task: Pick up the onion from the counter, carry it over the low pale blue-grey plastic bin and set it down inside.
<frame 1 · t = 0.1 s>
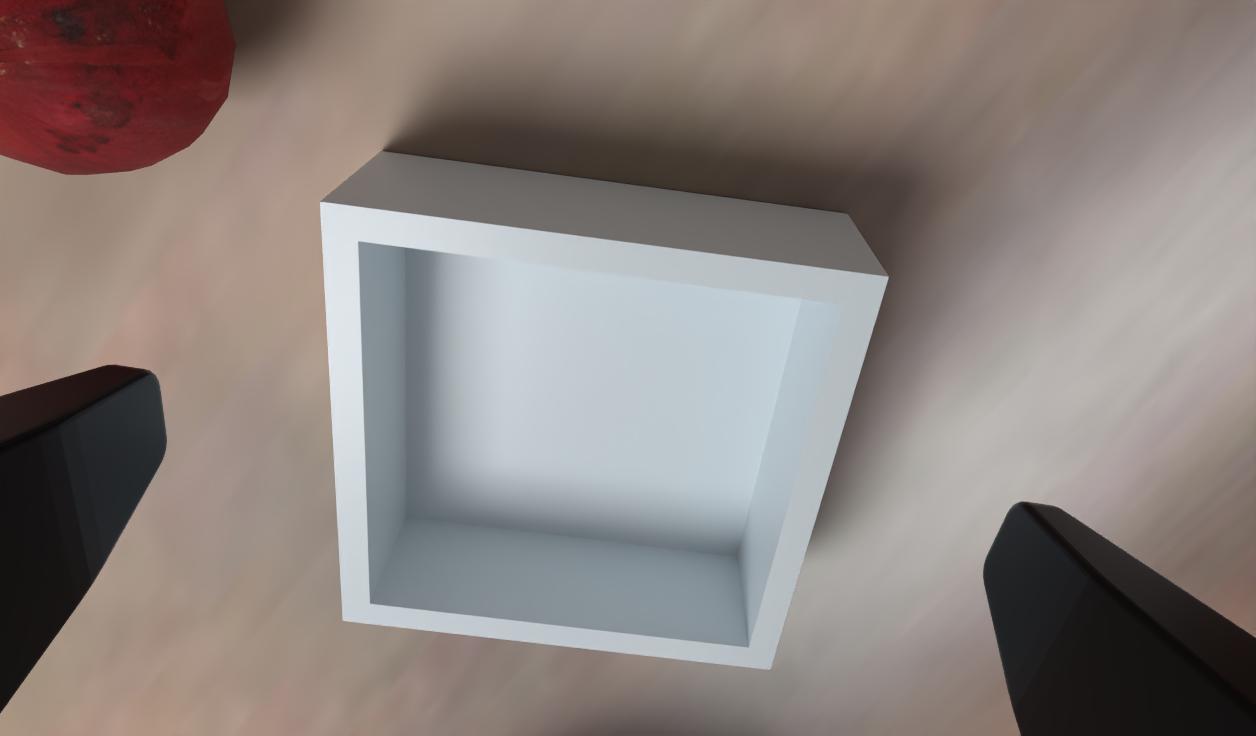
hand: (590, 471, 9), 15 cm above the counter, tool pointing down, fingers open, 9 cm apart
bin: (591, 384, 25), on the counter
onion: (173, 13, 20), on the counter
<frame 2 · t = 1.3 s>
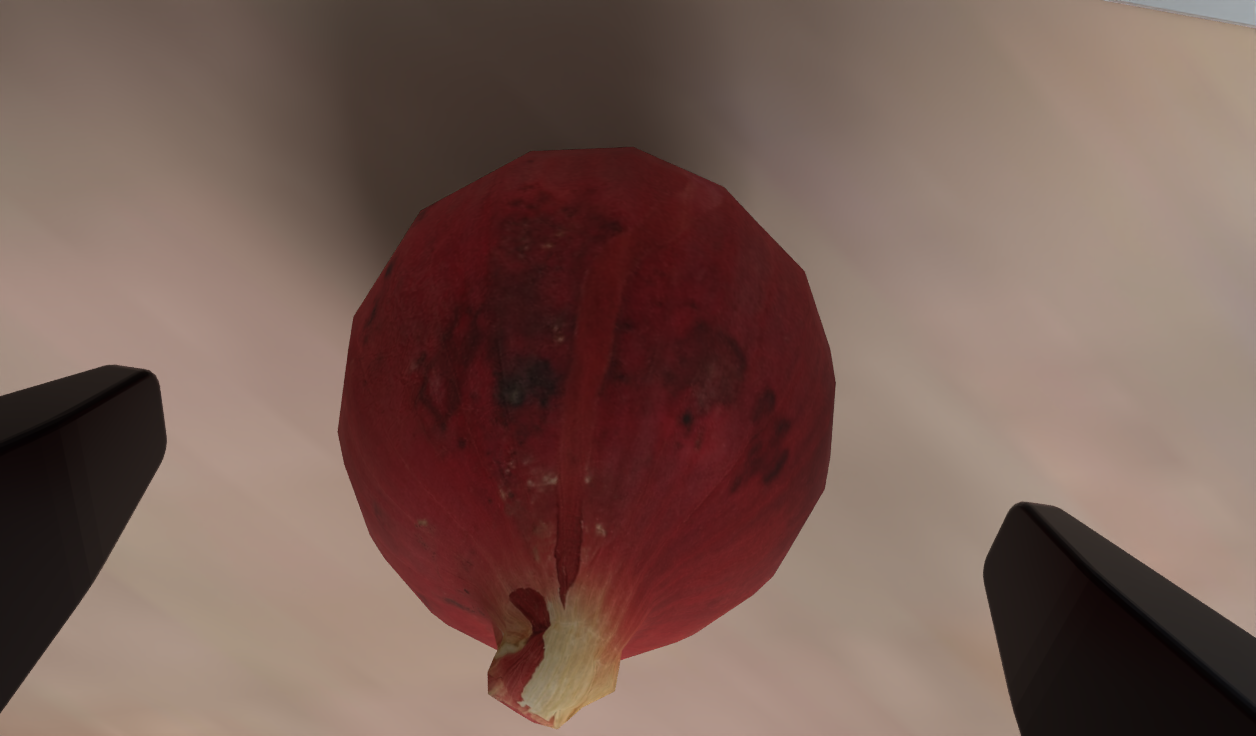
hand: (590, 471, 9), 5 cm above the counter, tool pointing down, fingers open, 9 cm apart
onion: (607, 276, 13), on the counter
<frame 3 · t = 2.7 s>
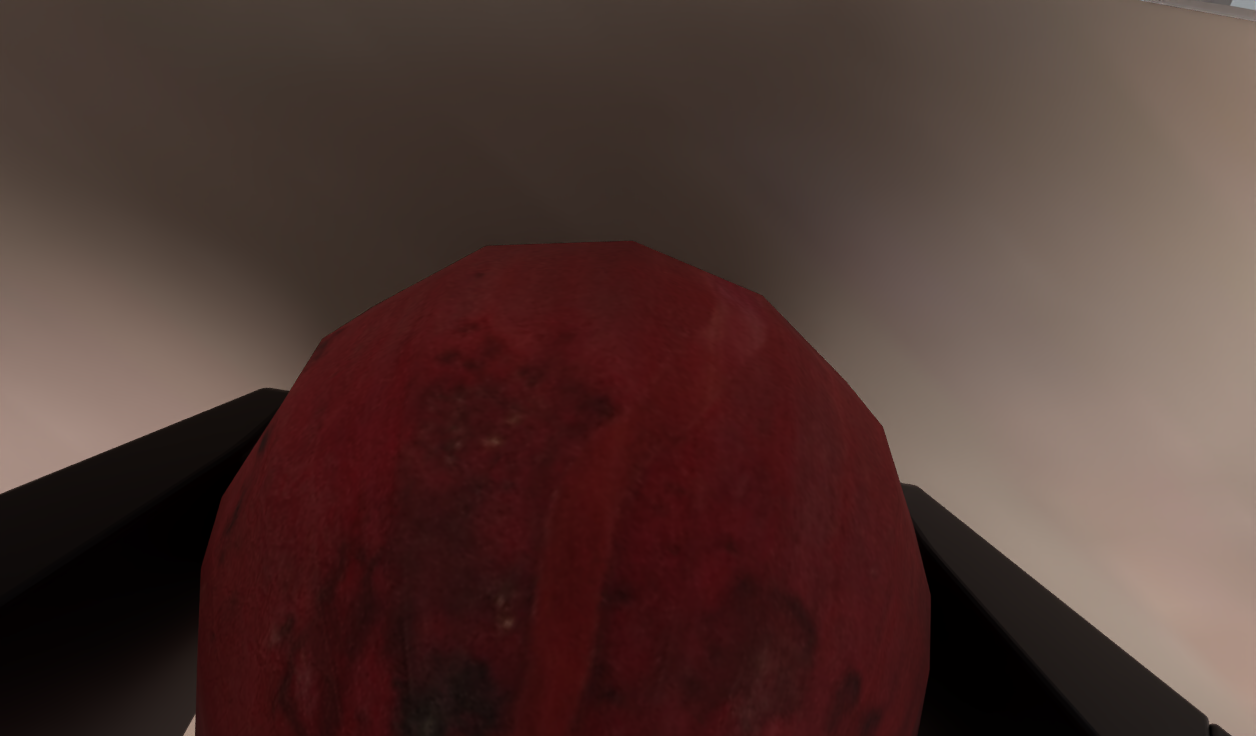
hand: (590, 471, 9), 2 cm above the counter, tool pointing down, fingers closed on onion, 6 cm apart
onion: (601, 370, 11), on the counter, touching gripper
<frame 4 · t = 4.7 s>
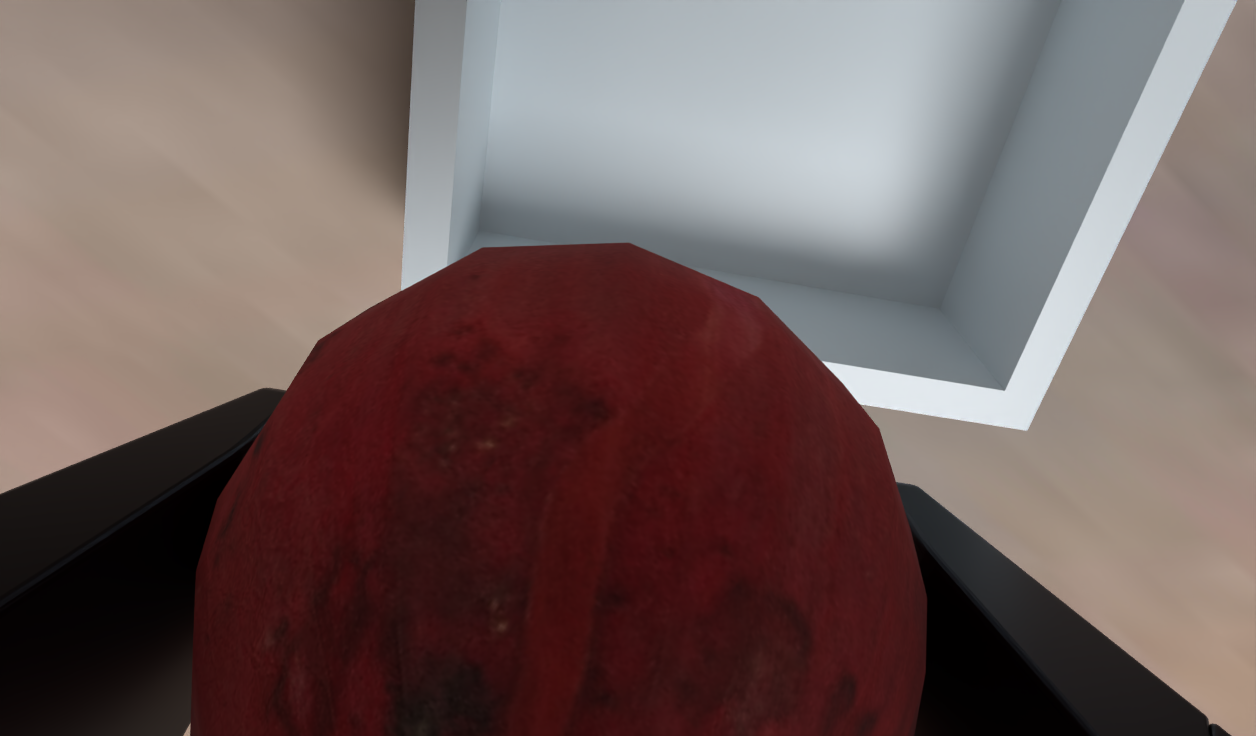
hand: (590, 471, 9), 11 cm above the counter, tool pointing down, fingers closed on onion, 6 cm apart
bin: (771, 16, 17), on the counter
onion: (598, 371, 11), point 9 cm above the counter, touching gripper
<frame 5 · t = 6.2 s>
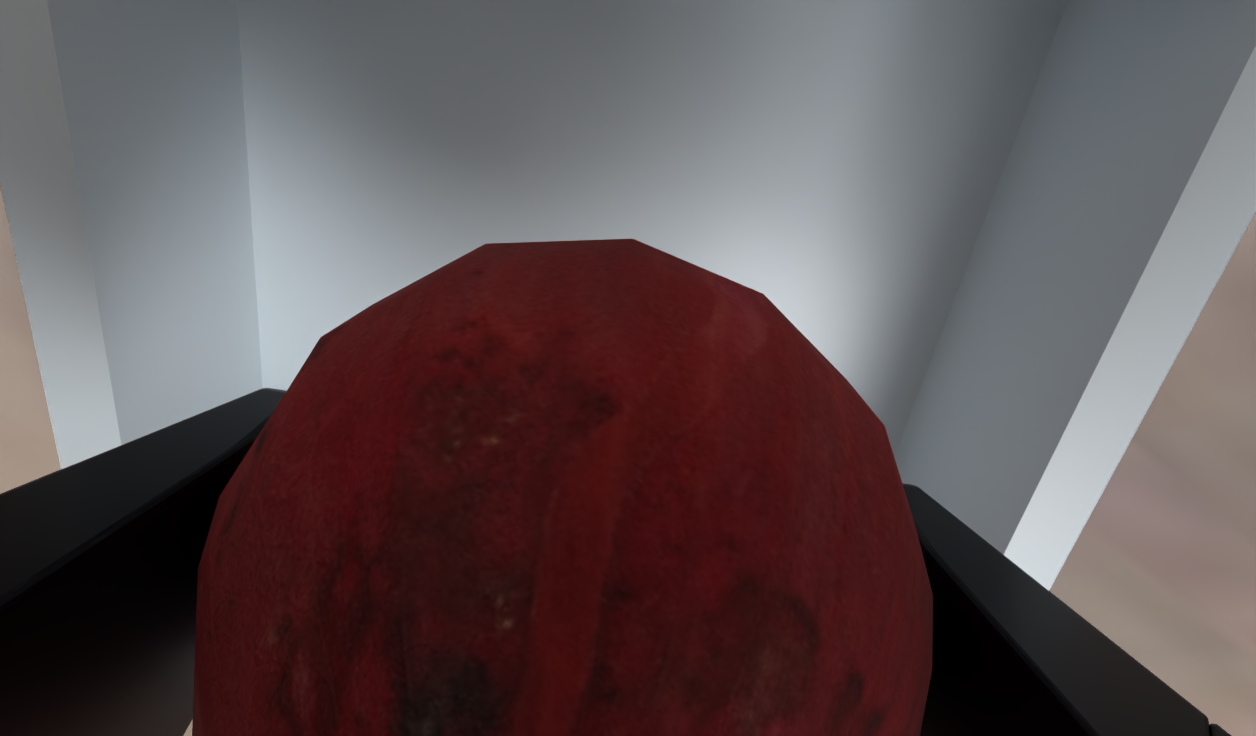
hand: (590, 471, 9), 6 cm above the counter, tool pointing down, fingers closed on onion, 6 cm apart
bin: (605, 270, 14), on the counter
onion: (601, 369, 11), point 3 cm above the counter, touching gripper
when the fingers open (5 cm above the counter, at t = 7.2 s): onion drops 2 cm, resting on bin.
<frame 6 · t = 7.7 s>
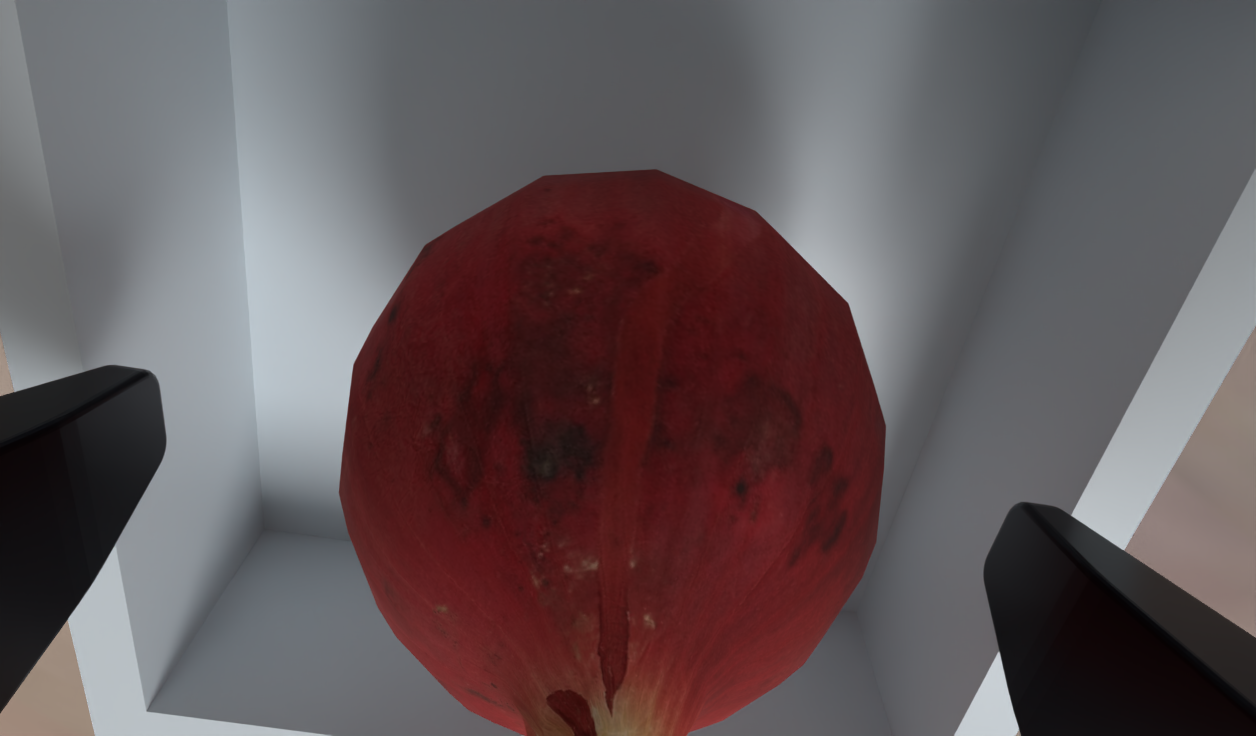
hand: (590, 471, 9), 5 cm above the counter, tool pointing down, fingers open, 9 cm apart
bin: (611, 286, 13), on the counter
onion: (619, 298, 13), resting on bin
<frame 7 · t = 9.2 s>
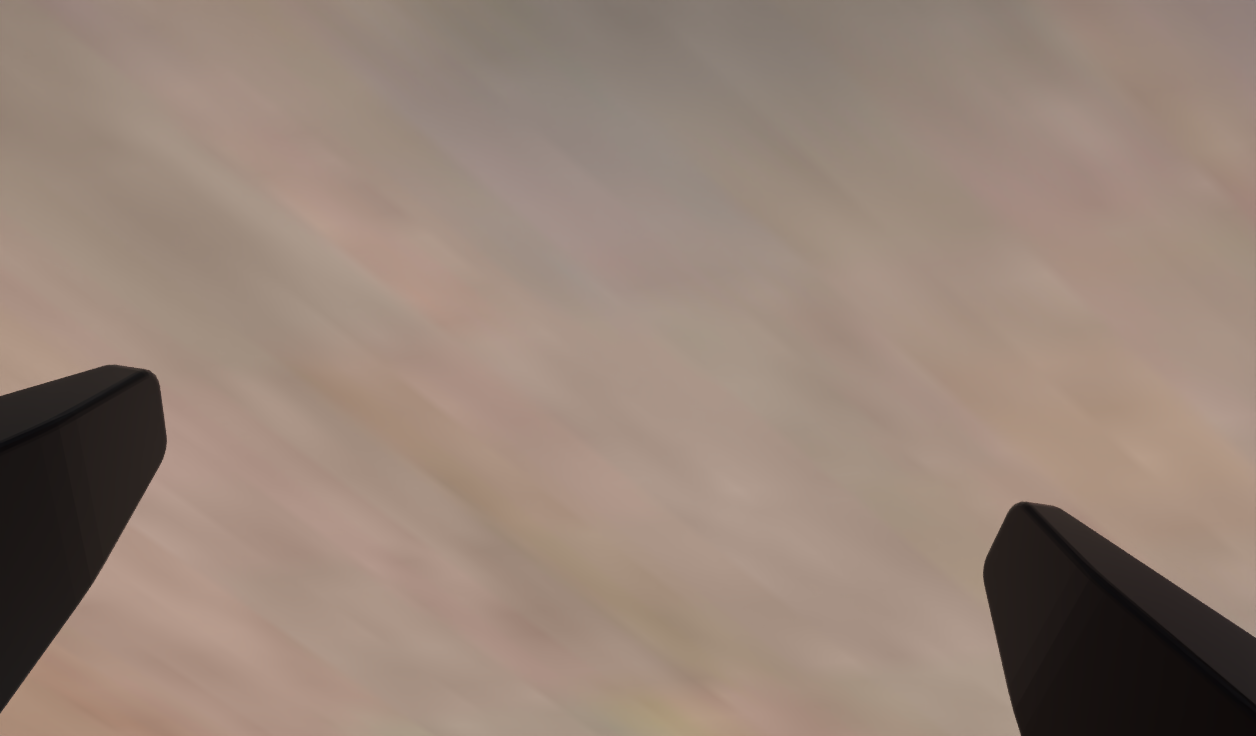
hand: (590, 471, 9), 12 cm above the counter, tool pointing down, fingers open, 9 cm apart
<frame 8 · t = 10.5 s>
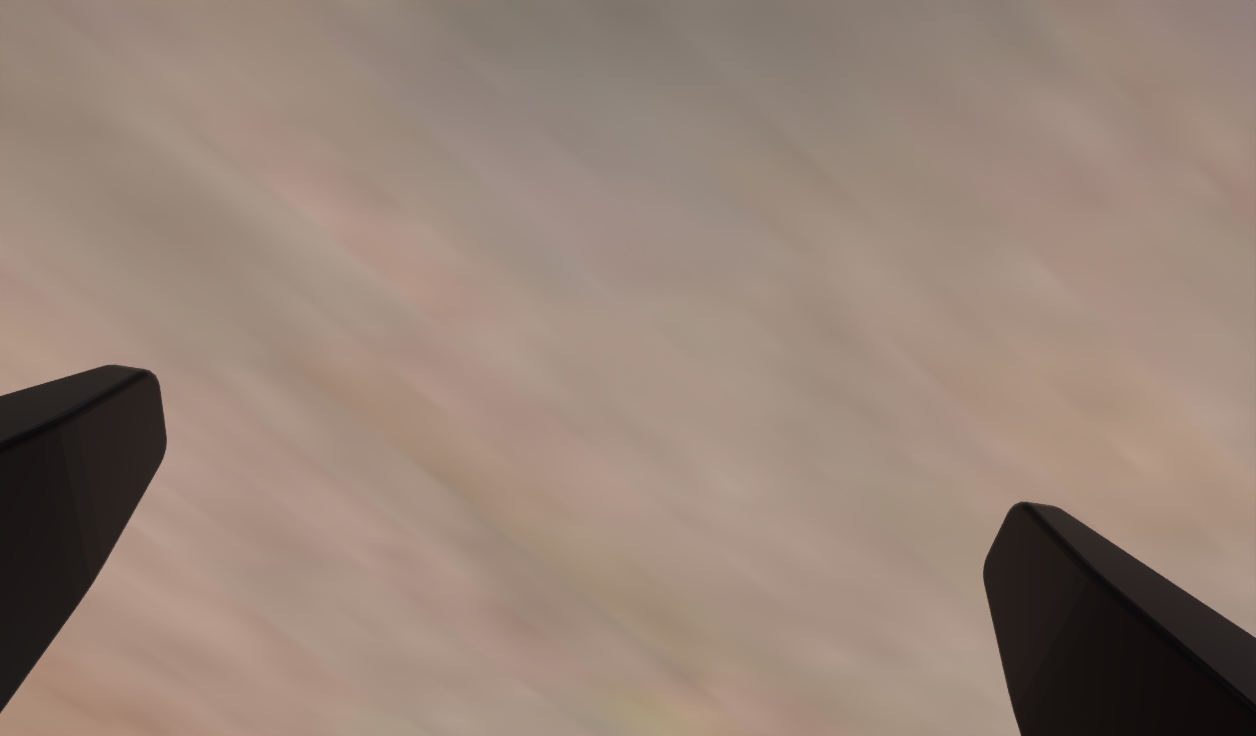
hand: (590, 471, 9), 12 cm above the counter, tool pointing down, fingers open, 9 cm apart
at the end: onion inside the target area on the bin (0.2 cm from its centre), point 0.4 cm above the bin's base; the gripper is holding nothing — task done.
